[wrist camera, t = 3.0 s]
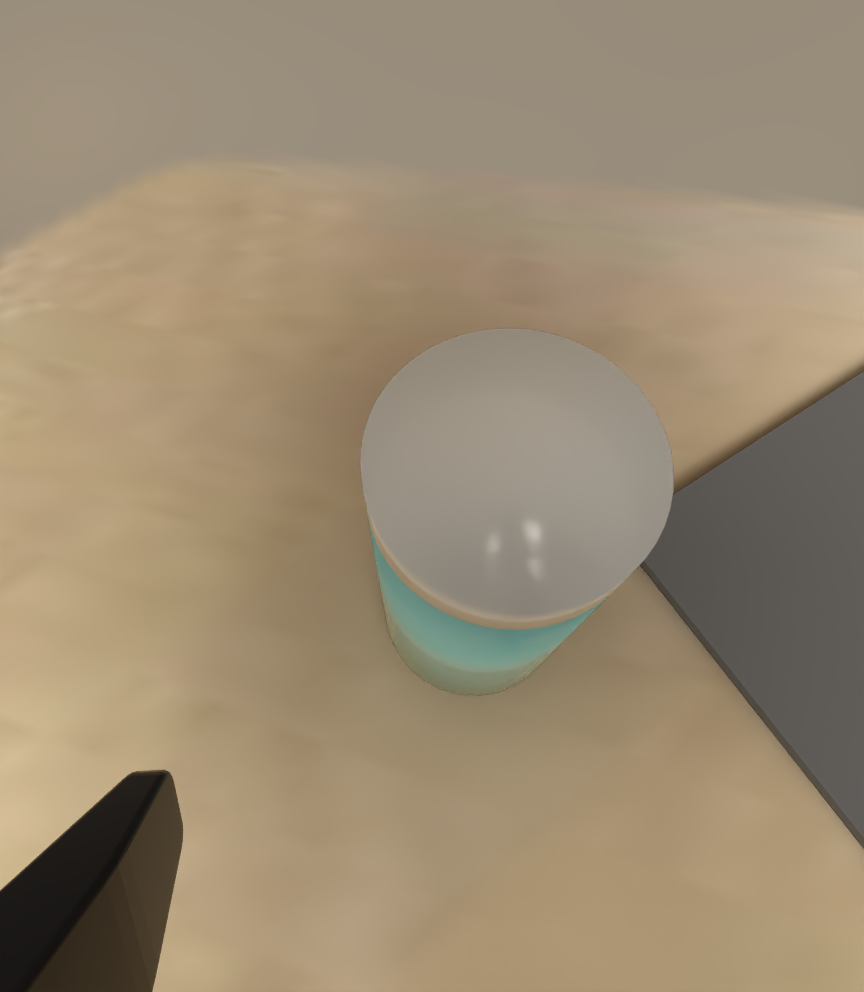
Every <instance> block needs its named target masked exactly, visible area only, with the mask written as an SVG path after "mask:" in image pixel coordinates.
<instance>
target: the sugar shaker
mask: <svg viewBox="0 0 864 992" xmlns="http://www.w3.org/2000/svg"><path fill="white" fill-rule="evenodd" d="M360 468H361V480H362V487H363V493H364V498H365V504H366V509H367V515H368V521H369V526H370V532H371V537H372V543H373V549H374V554H375V560H376V565H377V571H378V577H379V582H380V588H381V593H382V599H383V605H384V610H385V616H386V621H387V626H388V630H389V634H390V637H391V639H392V642H393V645H394V646H395V648H396V650H397V652H398V654H399V655H400V657H401V658H402V659H403V661H404V662H405V664H406V665H407V666H408V667H409V668H410V669H411V670H412V671H413V672H414V673H415V674H416V675H418V676H419V677H420V678H421V679H423V680H424V681H426V682H428V683H429V684H431V685H432V686H435V687H437V688H439V689H441V690H444V691H447V692H451V693H454V694H460V695H469V696H479V695H488V694H493V693H496V692H500V691H503V690H505V689H508V688H510V687H512V686H514V685H516V684H517V683H519V682H521V681H522V680H523V679H525V678H526V677H527V676H528V675H530V674H531V673H532V672H533V671H534V670H535V669H536V668H537V667H538V666H539V665H540V664H541V663H542V662H543V661H544V660H545V659H546V658H547V657H548V656H549V655H550V654H551V653H552V652H553V651H554V650H555V649H556V648H557V647H558V646H559V645H560V644H561V643H562V642H563V641H564V640H565V639H566V638H567V637H568V636H569V635H570V634H571V633H572V632H573V631H574V630H575V629H576V628H577V627H578V626H579V625H580V624H581V623H582V622H583V621H584V620H585V619H586V618H587V617H588V616H589V615H590V614H591V613H592V612H593V611H594V610H595V609H596V608H597V607H598V606H599V605H600V604H601V603H602V602H603V601H604V600H605V599H606V598H607V597H608V596H609V595H610V594H611V593H612V592H613V591H614V590H615V589H616V588H617V587H618V586H619V585H620V584H621V583H622V582H623V581H624V580H625V579H626V578H627V577H628V576H629V575H630V574H631V573H632V572H633V571H634V570H635V569H636V568H637V567H638V566H639V565H640V564H641V563H642V562H643V561H644V560H645V559H646V557H647V556H648V554H649V553H650V551H651V550H652V549H653V547H654V546H655V544H656V543H657V541H658V539H659V537H660V535H661V533H662V531H663V529H664V527H665V524H666V521H667V517H668V514H669V511H670V508H671V502H672V496H673V490H674V469H673V461H672V454H671V449H670V446H669V442H668V438H667V435H666V432H665V430H664V428H663V425H662V423H661V421H660V418H659V416H658V415H657V413H656V411H655V409H654V408H653V406H652V404H651V403H650V401H649V400H648V398H647V397H646V396H645V395H644V393H643V392H642V391H641V389H640V388H639V387H638V386H637V385H636V384H635V383H634V382H633V380H632V379H631V378H630V377H629V376H628V375H627V374H626V373H625V372H623V371H622V370H621V369H620V368H618V367H617V366H616V365H615V364H613V363H612V362H611V361H610V360H608V359H607V358H605V357H603V356H602V355H600V354H599V353H597V352H596V351H594V350H592V349H590V348H588V347H586V346H584V345H582V344H580V343H578V342H575V341H572V340H570V339H567V338H564V337H561V336H558V335H554V334H550V333H546V332H542V331H536V330H528V329H516V328H499V329H488V330H481V331H476V332H471V333H466V334H463V335H460V336H456V337H453V338H450V339H448V340H445V341H443V342H441V343H439V344H437V345H434V346H432V347H431V348H429V349H427V350H426V351H424V352H422V353H421V354H419V355H418V356H416V357H415V358H414V359H412V360H411V361H410V362H409V363H407V364H406V365H405V366H404V367H402V368H401V369H400V371H399V372H398V373H397V374H396V375H395V376H394V377H393V378H392V379H391V380H390V381H389V383H388V384H387V385H386V387H385V388H384V389H383V391H382V392H381V394H380V395H379V397H378V399H377V401H376V402H375V404H374V406H373V408H372V410H371V412H370V415H369V418H368V421H367V423H366V426H365V430H364V435H363V440H362V444H361V458H360Z"/></svg>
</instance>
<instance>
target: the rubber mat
mask: <svg viewBox="0 0 864 992" xmlns="http://www.w3.org/2000/svg"><path fill="white" fill-rule="evenodd" d="M640 565H641V567H642V568H643V569H644V570H645V572H646V573H647V574H648V575H649V577H650V578H651V579H652V580H653V582H654V583H655V584H656V586H657V587H658V588H659V589H660V591H661V592H662V593H663V594H664V596H665V597H666V598H667V599H668V601H669V602H670V603H671V605H672V606H673V607H674V608H675V610H676V611H677V612H678V613H679V615H680V616H681V617H682V619H683V620H684V621H685V622H686V624H687V625H688V626H689V627H690V629H691V630H692V631H693V632H694V634H695V635H696V636H697V638H698V639H699V640H700V641H701V643H702V644H703V645H704V646H705V648H706V649H707V650H708V651H709V653H710V654H711V655H712V657H713V658H714V659H715V660H716V662H717V663H718V664H719V665H720V667H721V668H722V669H723V671H724V672H725V673H726V674H727V676H728V677H729V678H730V679H731V681H732V682H733V683H734V684H735V686H736V687H737V688H738V690H739V691H740V692H741V693H742V695H743V696H744V697H745V698H746V700H747V701H748V702H749V703H750V705H751V706H752V707H753V709H754V710H755V711H756V712H757V714H758V715H759V716H760V717H761V719H762V720H763V721H764V722H765V724H766V725H767V726H768V728H769V729H770V730H771V731H772V733H773V734H774V735H775V736H776V738H777V739H778V740H779V742H780V743H781V744H782V745H783V747H784V748H785V749H786V750H787V752H788V753H789V754H790V755H791V757H792V758H793V759H794V761H795V762H796V763H797V764H798V766H799V767H800V768H801V769H802V771H803V772H804V773H805V774H806V776H807V777H808V778H809V780H810V781H811V782H812V783H813V785H814V786H815V787H816V788H817V790H818V791H819V792H820V794H821V795H822V796H823V797H824V799H825V800H826V801H827V802H828V804H829V805H830V806H831V807H832V809H833V810H834V811H835V813H836V814H837V815H838V816H839V818H840V819H841V820H842V821H843V823H844V824H845V825H846V826H847V828H848V829H849V830H850V832H851V833H852V834H853V835H854V837H855V838H856V839H857V840H858V842H859V843H860V844H861V845H862V847H863V848H864V371H863V372H862V373H860V374H859V375H857V376H856V377H854V378H853V379H851V380H850V381H848V382H846V383H845V384H843V385H842V386H840V387H839V388H837V389H836V390H834V391H833V392H831V393H829V394H828V395H826V396H825V397H823V398H822V399H820V400H819V401H817V402H816V403H814V404H812V405H811V406H809V407H808V408H806V409H805V410H803V411H802V412H800V413H799V414H797V415H795V416H794V417H792V418H791V419H789V420H788V421H786V422H785V423H783V424H782V425H780V426H778V427H777V428H775V429H774V430H772V431H771V432H769V433H768V434H766V435H765V436H763V437H762V438H760V439H758V440H757V441H755V442H754V443H752V444H751V445H749V446H748V447H746V448H745V449H743V450H741V451H740V452H738V453H737V454H735V455H734V456H732V457H731V458H729V459H728V460H726V461H724V462H723V463H721V464H720V465H718V466H717V467H715V468H714V469H712V470H711V471H709V472H707V473H706V474H704V475H703V476H701V477H700V478H698V479H697V480H695V481H694V482H692V483H690V484H689V485H687V486H686V487H684V488H683V489H681V490H680V491H678V492H677V493H675V494H673V496H672V502H671V508H670V511H669V514H668V517H667V521H666V524H665V527H664V529H663V531H662V533H661V535H660V537H659V539H658V541H657V543H656V544H655V546H654V547H653V549H652V550H651V551H650V553H649V554H648V556H647V557H646V559H645V560H644V561H643V562H642V563H641V564H640Z"/></svg>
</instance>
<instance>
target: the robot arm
mask: <svg viewBox="0 0 864 992" xmlns="http://www.w3.org/2000/svg"><path fill="white" fill-rule="evenodd" d="M182 842H183V823H182V818H181V813H180V808H179V804H178V799H177V794H176V789H175V785H174V780H173V777H172V775H171V774H170V772H168V771H166V770H150V771H136V772H132V773H131V774H129V775H127V776H126V777H125V778H124V779H123V780H122V781H121V782H119V783H118V784H117V785H116V786H115V787H114V788H113V789H112V790H111V791H109V792H108V793H107V794H106V795H105V796H104V797H103V798H102V799H101V800H100V801H98V802H97V803H96V804H95V805H94V806H93V807H92V808H91V809H90V810H89V811H87V812H86V813H85V814H84V815H83V816H82V817H81V818H80V819H79V820H77V821H76V822H75V823H74V824H73V825H72V826H71V827H70V828H69V829H68V830H66V831H65V832H64V833H63V834H62V835H61V836H60V837H59V838H58V839H57V840H55V841H54V842H53V843H52V844H51V845H50V846H49V847H48V848H47V849H46V850H44V851H43V852H42V853H41V854H40V855H39V856H38V857H37V858H36V859H34V860H33V861H32V862H31V863H30V864H29V865H28V866H27V867H26V868H25V869H23V870H22V871H21V872H20V873H19V874H18V875H17V876H16V877H15V878H14V879H12V880H11V881H10V882H9V883H8V884H7V885H6V886H5V887H4V888H2V889H1V890H0V992H152V991H153V986H154V982H155V977H156V973H157V968H158V963H159V958H160V953H161V948H162V943H163V938H164V933H165V928H166V923H167V918H168V913H169V908H170V903H171V898H172V893H173V889H174V884H175V879H176V874H177V869H178V864H179V859H180V854H181V849H182Z"/></svg>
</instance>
